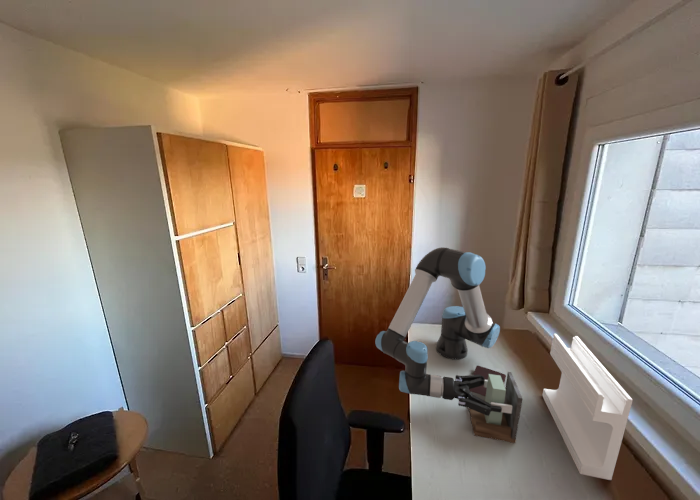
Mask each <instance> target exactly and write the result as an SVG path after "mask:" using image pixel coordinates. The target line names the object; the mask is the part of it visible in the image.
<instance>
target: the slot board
mask: <svg viewBox="0 0 700 500" xmlns="http://www.w3.org/2000/svg"><path fill="white" fill-rule="evenodd" d="M505 389H506V394H505V400H504V404H507V405H512V413H511V414H510V413H504V412H503V414H502V420H501V425H495V424H490V423H486V419H485V415H484V414H482V413H480V412H477V411H475V410H472V409H470V408H468V409H469V411H468V412H469V416H470V421H471V426H472V432H473V436H475V437H480V438H485V439H490V440H496V441H503V442H507V443H512V444H516V441H517V440H516V439H517V434H518V428H519V423H520V417H521V416H520V415H521V410H522V405H523V399H524V398H523V395H522V394H521V392H520V389H519V387H518V385H517V382H516V380H515V378H514V375H513V372H512V371H507V375H506V379H505ZM484 401H485V400H484Z"/></svg>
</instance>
